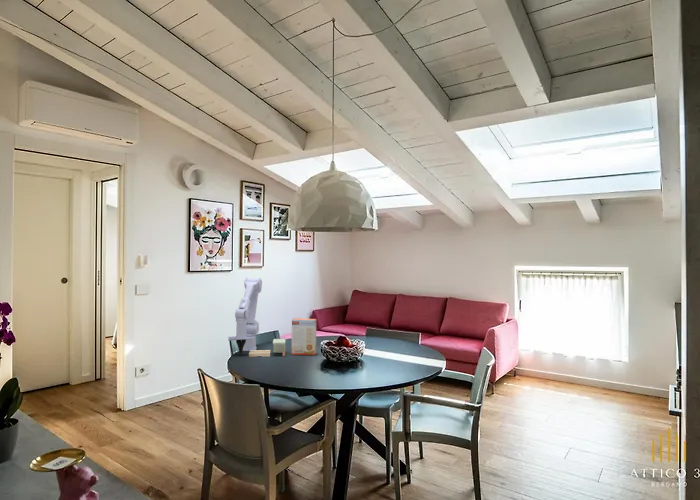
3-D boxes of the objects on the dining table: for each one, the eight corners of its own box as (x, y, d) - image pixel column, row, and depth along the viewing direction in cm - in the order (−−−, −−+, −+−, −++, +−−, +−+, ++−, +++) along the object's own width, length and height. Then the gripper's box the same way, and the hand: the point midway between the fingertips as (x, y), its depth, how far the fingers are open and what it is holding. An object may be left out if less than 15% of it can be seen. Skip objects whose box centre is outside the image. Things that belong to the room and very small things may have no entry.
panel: (249, 354, 257) (250, 350, 257) (270, 354, 259) (270, 350, 259) (248, 357, 249) (248, 353, 249) (269, 357, 251) (270, 353, 251)
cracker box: (316, 353, 261) (316, 318, 261) (314, 355, 255) (315, 319, 255) (293, 352, 262) (294, 317, 263) (290, 354, 256) (291, 319, 257)
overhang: (273, 352, 262) (273, 338, 262) (285, 351, 263) (285, 338, 263) (272, 356, 250) (272, 342, 250) (284, 356, 251) (285, 342, 251)
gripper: (227, 330, 248) (226, 354, 248) (253, 330, 250) (252, 354, 249) (229, 328, 255) (228, 351, 255) (254, 328, 257) (254, 351, 257)
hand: (240, 352), depth 253 cm, fingers closed
